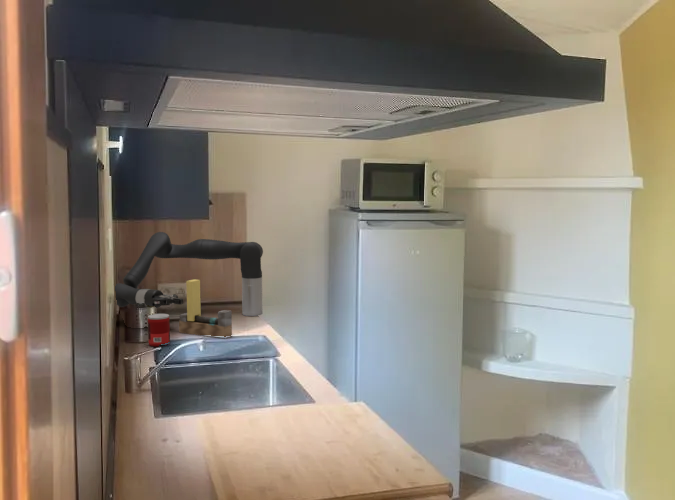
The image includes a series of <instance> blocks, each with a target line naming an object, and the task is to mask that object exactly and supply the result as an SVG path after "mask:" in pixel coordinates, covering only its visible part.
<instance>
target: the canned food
mask: <svg viewBox="0 0 675 500" xmlns="http://www.w3.org/2000/svg"><path fill="white" fill-rule="evenodd" d="M170 321H171V320H170V315H169V314H168V313H154V314H149V315H148V316H147V339H148V340H147V341H148V345H149V346H150V347H160V346H159V345H161V344H165V343H168V342H171V330H170V329H171V328H170V327H171V326H170V325H171V323H170Z"/></svg>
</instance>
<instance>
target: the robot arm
mask: <svg viewBox="0 0 675 500" xmlns="http://www.w3.org/2000/svg"><path fill="white" fill-rule="evenodd" d="M263 254H264V250H263V247H262V246H261V245H260V244H259V243H258V242H255V241H246V242H241V241H239V242H231V241H227V240H221V239H218V240H217V239H208V238H207V239H206V238H200V239H199V238H198V239H196V240H193V241H190V242H188V243H186V244H175V243H174V244H173V243H172V242H171V238H170V236H169V234H168V233H166V232H164V231H157V232H155V233H154V234H152V235H151V236H150V238H149V240H148V242H147V243H146V244H145V247H144V248H143V250H142V252H141V253H140V255H139V257H138V259H137V260H136V262H135V263H134V265H133V266H132V267H131V268H130V270H129V271H128V272H127V273H126V275H125V276H124V277H123V283H121V282H120V283H115V284H116V286H115V291H116V300H117V304H116V305H117V306H118V307H119V308H124V307H127V306H128V305H133V304H137V303H145V304H146V305H149V306H155V307H156V308H155V309H158V308H161V307H162V306H170V305H183V304H184V298H180V297H179V295H177V294H174V293H173V294H172V295H170V294H166V293H163V292H162V291H161V290H160V289H150V288H138V287H139V285H140V284H142V282H143V281H144V279H145V278H146V276H147V274H148V273H149V271H150V267H151V266H152V263H153V260H154V259H155V257H156V258H159V259H199V260H212V261H213V260H224V259H225V260H226V259H239V260H240V262H239V264H240V272H241V273H240V274H241V300H242V301H241V306H242V307H241V309H242V312H241V315H243V316H247V317H257V316H261V315H263V271H262V266H261V265H262V263H261V260H262V256H263ZM133 306H134V305H133Z"/></svg>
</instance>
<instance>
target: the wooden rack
mask: <svg viewBox="0 0 675 500" xmlns="http://www.w3.org/2000/svg"><path fill="white" fill-rule="evenodd" d="M232 316H233V314H232V310H229V309H224V310H223V309H222V310H220V311H218V312H217V317H210V316H202V315H201V316H195V321H187V312H184V313H181V314H179V321H178V331H179V333H180V334H187V335H188V334H189V335H194V334H195V336H201V335H211V336H224V337H226V336H231V335H232V336H233V325H232V324H233V320H232V319H233V318H232Z"/></svg>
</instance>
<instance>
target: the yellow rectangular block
mask: <svg viewBox="0 0 675 500" xmlns="http://www.w3.org/2000/svg"><path fill="white" fill-rule="evenodd" d="M201 309H202V307H201V279H195V278H194V279H190V280H186V313H187V321H195V316H202V314H201V313H202V310H201Z"/></svg>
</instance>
